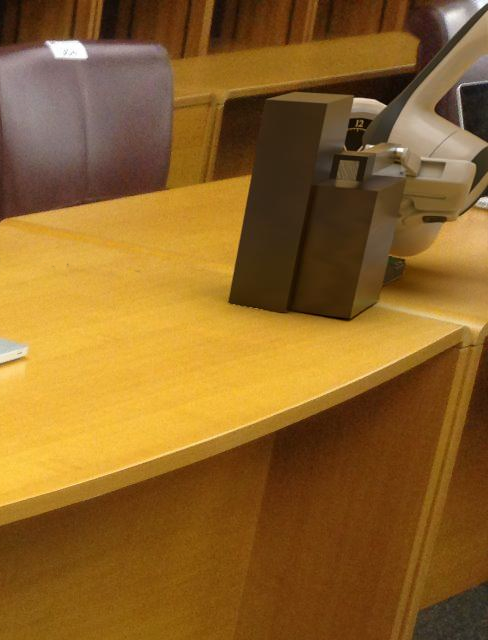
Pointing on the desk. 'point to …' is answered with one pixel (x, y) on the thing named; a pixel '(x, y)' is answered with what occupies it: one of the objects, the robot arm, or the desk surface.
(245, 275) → the stepped stand
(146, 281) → the desk surface
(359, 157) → the handle bar
